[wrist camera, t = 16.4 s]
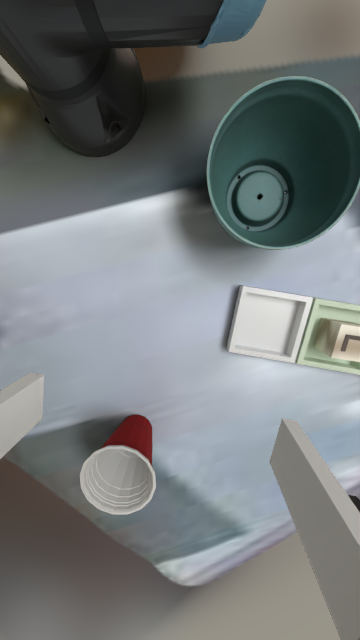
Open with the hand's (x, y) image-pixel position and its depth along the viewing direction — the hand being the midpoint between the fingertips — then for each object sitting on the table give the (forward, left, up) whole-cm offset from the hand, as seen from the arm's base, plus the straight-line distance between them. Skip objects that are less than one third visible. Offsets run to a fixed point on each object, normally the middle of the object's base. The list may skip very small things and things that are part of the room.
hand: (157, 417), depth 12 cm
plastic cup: (+22, -5, -27) cm, 35 cm away
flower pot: (-20, +8, -27) cm, 35 cm away
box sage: (-2, +25, -27) cm, 36 cm away
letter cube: (-2, +25, -26) cm, 36 cm away
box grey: (-2, +14, -27) cm, 30 cm away
